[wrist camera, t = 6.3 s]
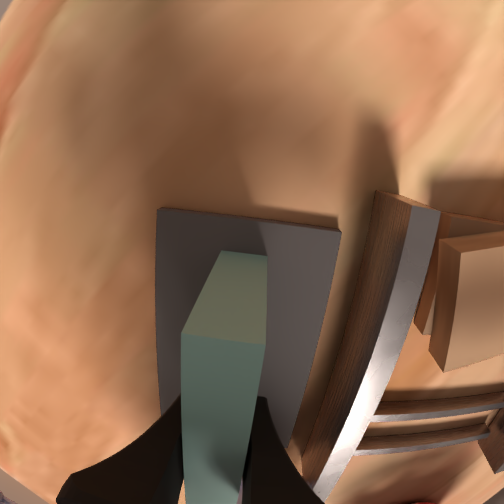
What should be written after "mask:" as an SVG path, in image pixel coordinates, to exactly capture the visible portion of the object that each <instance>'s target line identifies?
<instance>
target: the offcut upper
mask: <svg viewBox="0 0 504 504" xmlns="http://www.w3.org/2000/svg"><path fill="white" fill-rule="evenodd" d="M429 352H430V353H431V355H432V356H433V358H434V359H435V361H436V362H437V364H438V365H439V367H440V368H441V370H442V371H443V373H444V372H448V371H451V370H455V369H458V368H462V367H465V366H468V365H471V364H475V363H478V362H481V361H484V360H487V359H490V358H493V357H495V356H498V355H501V354H504V231H496V232H489V233H482V234H474V235H467V236H459V237H452V238H444V239H439V254H438V272H437V286H436V297H435V307H434V316H433V324H432V332H431V338H430V344H429Z"/></svg>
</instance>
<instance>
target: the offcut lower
mask: <svg viewBox="0 0 504 504" xmlns="http://www.w3.org/2000/svg"><path fill="white" fill-rule="evenodd" d="M496 231H504V222H500V221H494V220H489V219H484V218H478V217H472V216H467V215H461V214H455V213H448V212H442V211H441V214H440V219H439V224H438V229H437V233H436V237H435V242H434V246H433V250H432V254H431V258H430V262H429V266H428V270H427V275H426V279H425V283H424V287H423V291H422V295H421V298H420V302H419V306H418V309H417V313H416V317H415V320H414V324H415V325H416V327H417V328H418V329H419V331H420V332H421V333H422V335H431V332H432V324H433V316H434V307H435V297H436V286H437V272H438V254H439V239H444V238H452V237H459V236H467V235H474V234H482V233H489V232H496Z"/></svg>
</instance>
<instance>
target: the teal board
mask: <svg viewBox="0 0 504 504" xmlns="http://www.w3.org/2000/svg"><path fill="white" fill-rule="evenodd" d="M267 260H268V256H263V255H255V254H247V253H239V252H231V251H223V250H221V252H220V254H219V256H218V258H217V260H216V262H215V264H214V266H213V268H212V270H211V272H210V274H209V276H208V278H207V280H206V282H205V285H204V287H203V289H202V291H201V293H200V295H199V297H198V299H197V301H196V303H195V305H194V307H193V309H192V311H191V313H190V315H189V317H188V320H187V322H186V324H185V326H184V328H183V330H182V332H181V419H182V448H183V468H184V484H185V498H186V504H237V500H238V495H239V490H240V485H241V480H242V475H243V470H244V464H245V459H246V454H247V449H248V443H249V438H250V433H251V427H252V422H253V416H254V411H255V405H256V399H257V394H258V388H259V382H260V376H261V371H262V365H263V359H264V353H265V347H266V314H267Z"/></svg>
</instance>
